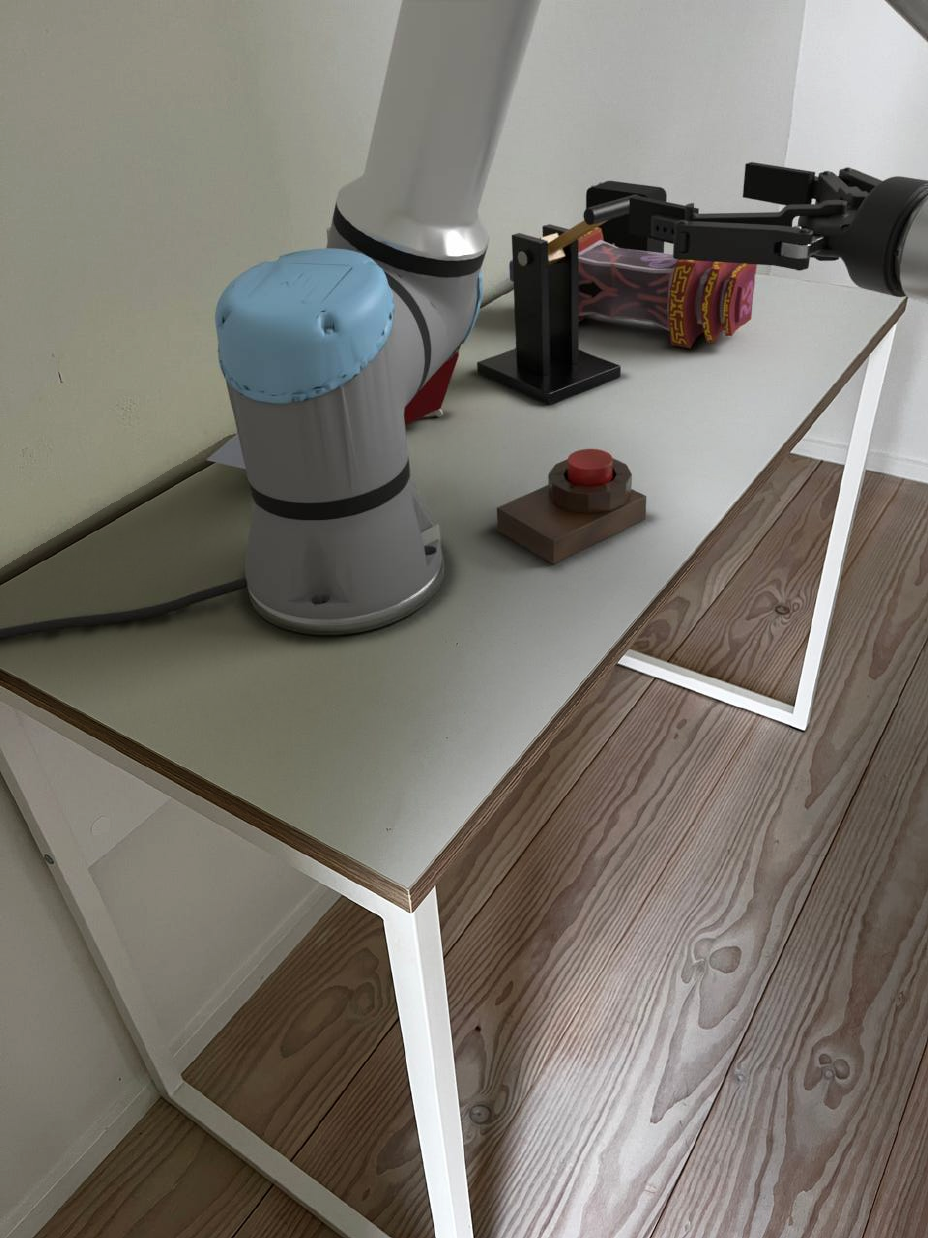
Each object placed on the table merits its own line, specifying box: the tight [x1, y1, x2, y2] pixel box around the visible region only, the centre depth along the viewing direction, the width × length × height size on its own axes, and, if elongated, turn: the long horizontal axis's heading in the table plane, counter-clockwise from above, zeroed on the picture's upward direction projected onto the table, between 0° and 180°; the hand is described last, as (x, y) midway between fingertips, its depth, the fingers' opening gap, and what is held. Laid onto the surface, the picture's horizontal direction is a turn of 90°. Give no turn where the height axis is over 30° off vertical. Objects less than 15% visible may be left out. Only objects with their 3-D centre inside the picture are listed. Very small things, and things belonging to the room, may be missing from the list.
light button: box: [566, 448, 614, 487], centre depth 80 cm, size 4×4×2 cm
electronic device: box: [585, 180, 668, 253], centre depth 133 cm, size 4×10×10 cm, turn 47°
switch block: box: [496, 457, 647, 565], centre depth 80 cm, size 10×7×4 cm
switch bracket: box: [476, 223, 622, 406], centre depth 103 cm, size 12×10×15 cm
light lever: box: [539, 195, 638, 266], centre depth 95 cm, size 13×6×2 cm, turn 37°
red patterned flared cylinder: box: [508, 227, 758, 349], centre depth 115 cm, size 10×9×30 cm
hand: (691, 196), depth 82 cm, fingers open, 13 cm apart
